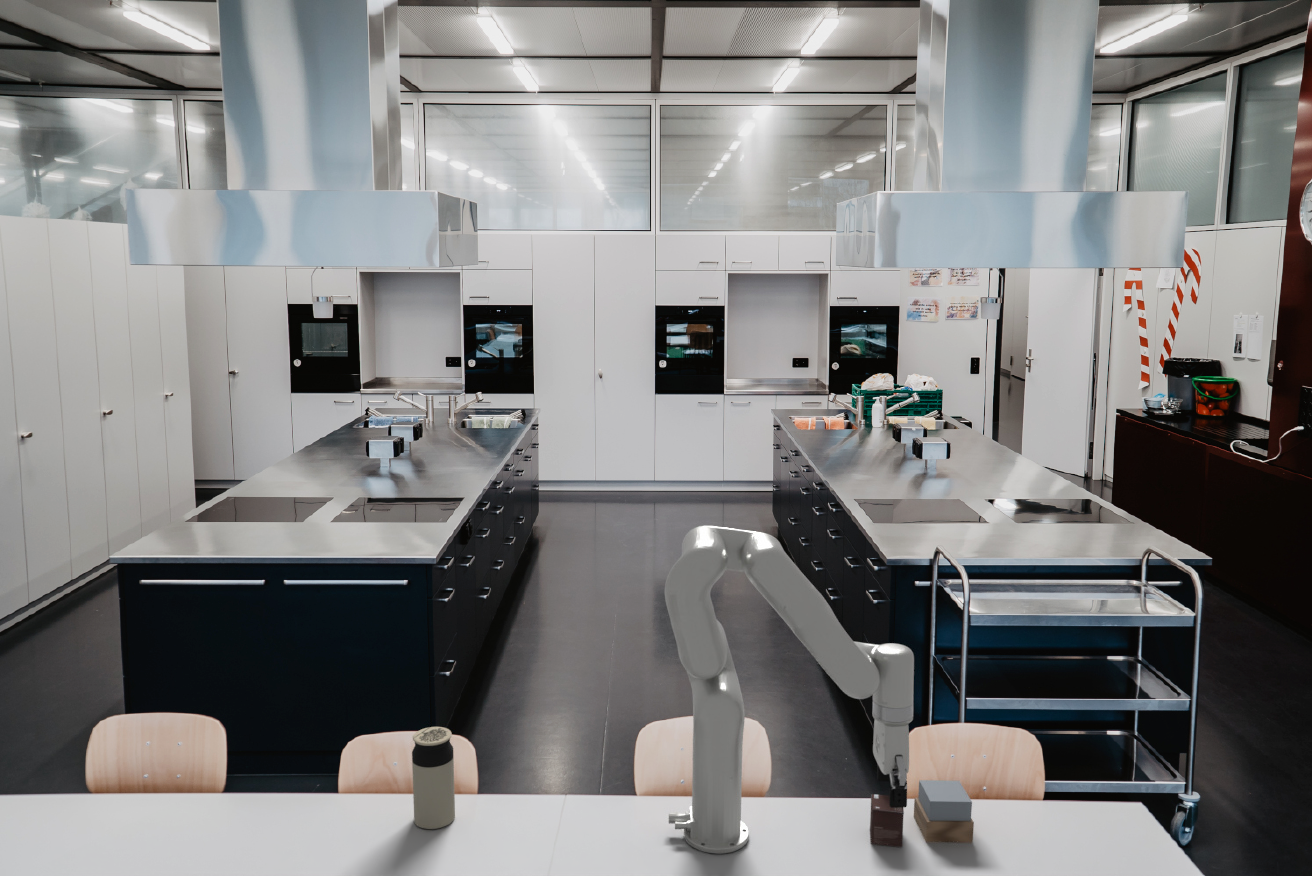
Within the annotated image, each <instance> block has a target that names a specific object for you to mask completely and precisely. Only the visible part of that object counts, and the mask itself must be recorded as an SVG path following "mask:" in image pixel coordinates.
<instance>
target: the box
mask: <svg viewBox="0 0 1312 876" xmlns="http://www.w3.org/2000/svg"><path fill="white" fill-rule="evenodd" d="M904 813H905V812H904V807H900V808H891V807H890V805H889V795H883V794H874V793H873V794H870V819H869V820H870V822H869V838H870V839H869V840H870V845H877V846H887V847H895V848H903V839H904V838H903V835H904V834H903V833H904Z"/></svg>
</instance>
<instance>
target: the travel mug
mask: <svg viewBox="0 0 1312 876" xmlns="http://www.w3.org/2000/svg"><path fill="white" fill-rule="evenodd" d="M452 736H453V735H452V731H451V730H450V729H449V728H447V727H442V726H431V727H430V726H429V727H425V728H422V729H420V730H418V731H416V732H415V733H414V734H413V735H412V741H413V742H414V747H413V749H412V751H411V759H412V760H411V761H412V763H411V765H412V789H413V790H412V792H413V797H412V799H413V819H414V820H413V822H414V823H415V824H414V825H416V826H417V827H419V828H422V829H425V830H427V829H428V830H435V829H440V828H444V827H447V826H448V825H450V824H451V823H452V822H453V821H454V820H455V818H456V803H455V802H456V799H455V798H456V796H455V794H456V793H455V765H454V763H455V761H454V759H455V757H454V746H453V745H452V743H451V738H452Z"/></svg>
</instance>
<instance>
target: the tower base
mask: <svg viewBox="0 0 1312 876" xmlns="http://www.w3.org/2000/svg"><path fill="white" fill-rule="evenodd" d="M913 805H914V806H913V819H914V821H915V822H916V825H917V827H918V829H919V831H920V833H921V836H922V837H923V839H924V841H925V843H952V844H953V843H954V844H955V843H959V844H960V843H965V844H966V843H967V844H969V843H970V844H972V843H974V842H973V839H974V827H975V824H974V823H975V821H973V818H971V821H929V819H928V817H927V815H926V813H925V811H924V809H923V807H922V805H921V803H920V801H919V799H918V797H914V804H913Z"/></svg>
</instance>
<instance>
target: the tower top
mask: <svg viewBox="0 0 1312 876" xmlns="http://www.w3.org/2000/svg"><path fill="white" fill-rule="evenodd" d="M917 798H918V799H919V801H920V803H921V805H922V807H923V809H924V811H925V813H926V815H927V817H928V819H929V821H971V819H972V808H973V801H972V798H970V796H969V795H968V793H967V791H966V790H965V788H964V787H963V785H962V783H961V782H960V780H940V779H938V780H937V779H936V780H933V779H932V780H931V779H929V780H928V779H924V780H923V779H921V780H920V779H919V782H918V797H917Z"/></svg>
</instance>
